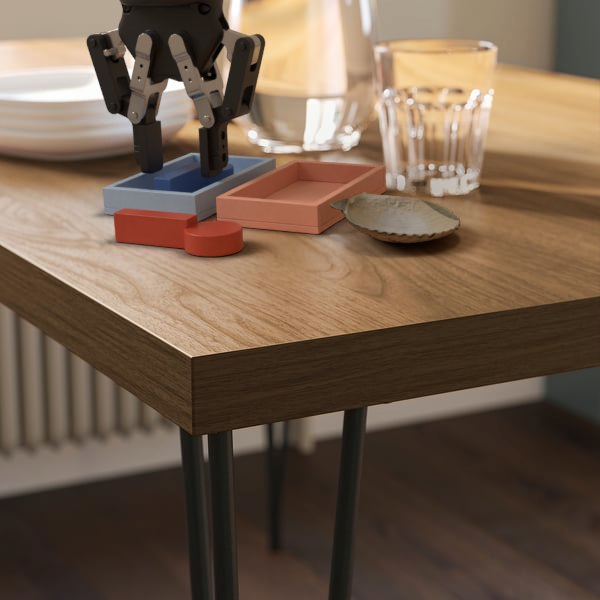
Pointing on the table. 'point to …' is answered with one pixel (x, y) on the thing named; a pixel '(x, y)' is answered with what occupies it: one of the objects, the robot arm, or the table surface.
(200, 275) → the table surface
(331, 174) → the tray red
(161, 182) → the spoon blue
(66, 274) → the table surface
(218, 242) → the spoon red
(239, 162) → the tray blue
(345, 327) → the table surface
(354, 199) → the seashell
